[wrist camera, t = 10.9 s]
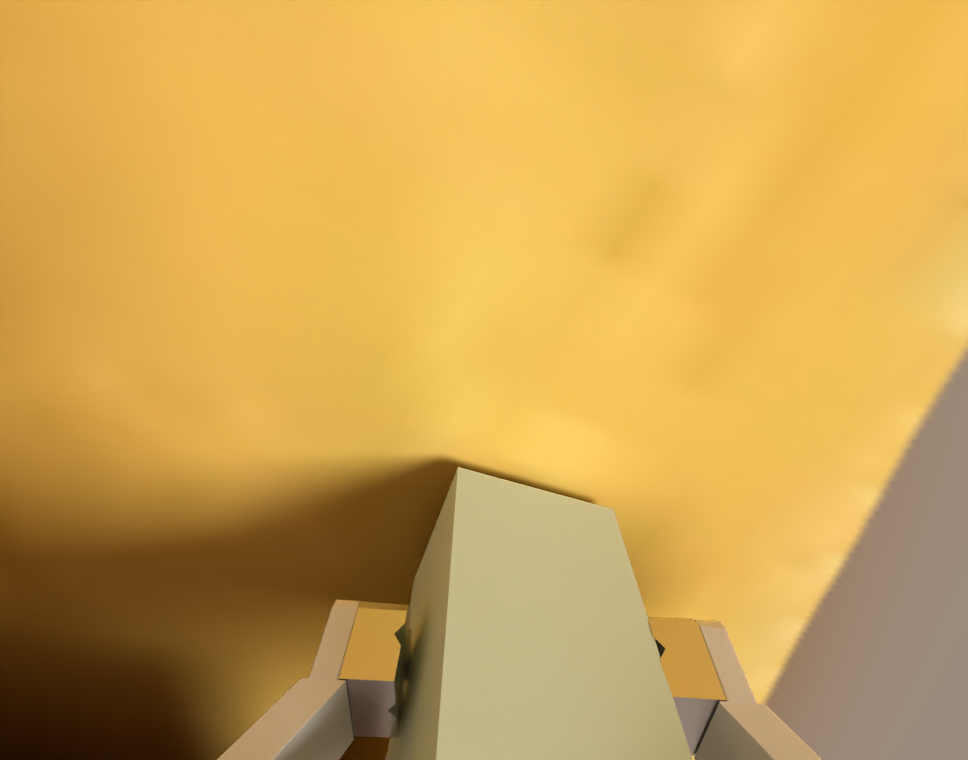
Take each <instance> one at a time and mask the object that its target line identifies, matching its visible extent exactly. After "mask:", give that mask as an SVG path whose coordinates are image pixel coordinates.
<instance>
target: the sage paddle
mask: <svg viewBox="0 0 968 760" xmlns="http://www.w3.org/2000/svg"><path fill="white" fill-rule="evenodd" d="M410 607H411V619H410V625H409V628H410V629H411V630H412V647H411V658H410V665H409V672H408V678H407V680H406V681H405V683H404V684H403V691H404V704H403V711H402V717H401V723H400V729H399V735H398V738H395V737H390V741H389V747H388V752H387V754H386V756H385V759H384V760H693V759H692V756H691V753H690V749H689V746H688V743H687V740H686V737H685V734H684V730H683V727H682V724H681V721H680V718H679V715H678V711H677V708H676V705H675V702H674V699H673V696H672V692H671V690H670V687H669V685H668V682H667V679H666V677H665V674H664V672H663V669H662V666H661V662H660V659H661V658H660V654H659V651H658V648H657V645H656V642H655V639H654V638H653V635H652V631H651V627H650V624H649V620H648V616H647V613H646V610H645V607H644V604H643V601H642V597H641V594H640V591H639V588H638V585H637V582H636V579H635V575H634V572H633V569H632V566H631V563H630V560H629V556H628V553H627V550H626V547H625V544H624V541H623V537H622V534H621V531H620V528H619V525H618V522H617V518H616V515H615V512H614V509H611V508H607V507H603V506H600V505H596V504H592V503H589V502H585V501H581V500H578V499H574V498H570V497H567V496H563V495H559V494H556V493H552V492H548V491H545V490H541V489H537V488H534V487H530V486H526V485H523V484H519V483H515V482H512V481H508V480H504V479H501V478H497V477H493V476H490V475H486V474H482V473H479V472H475V471H471V470H468V469H464V468H460V467H458V468H457V471H456V473H455V476H454V478H453V481H452V484H451V486H450V489H449V491H448V494H447V496H446V499H445V502H444V504H443V507H442V509H441V512H440V514H439V517H438V520H437V522H436V525H435V527H434V530H433V532H432V535H431V538H430V540H429V543H428V545H427V548H426V550H425V553H424V556H423V558H422V561H421V563H420V566H419V568H418V571H417V574H416V576H415V579H414V581H413V588H412V594H411V601H410Z"/></svg>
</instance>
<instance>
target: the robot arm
mask: <svg viewBox="0 0 968 760" xmlns="http://www.w3.org/2000/svg"><path fill="white" fill-rule="evenodd" d="M410 619H411V607H410V605H404V604H391V603H378V602H365V601H352V600H336V601H335V603H334V605H333V606H332V608H331V611H330V614H329V617H328V620H327V624H326V627H325V630H324V633H323V636H322V639H321V642H320V645H319V648H318V651H317V654H316V657H315V660H314V663H313V666H312V669H311V672H310V675H309V678H300V679H299V680H298V681H297V682H296V683H295V684H294V685H293V686H292V687H291V688H290V689H289V690H288V691H287V692H286V693H285V694H284V695H283V696H282V697H281V698H280V699H279V700H278V701H277V702H276V703H275V704H274V705H273V706H272V707H271V708H269V709H268V710H267V711H266V712H265V713H264V714H263V715H262V716H261V717H260V718H259V719H258V720H257V721H256V722H255V723H254V724H253V725H252V726H251V727H250V728H249V729H248V730H247V731H246V732H245V733H244V734H243V735H242V736H241V737H240V738H239V739H238V740H237V741H236V742H235V743H234V744H232V745H231V746H230V747H229V748H228V749H227V750H226V751H225V752H224V753H223V754H222V755H221V756H220V757H219V758H218V759H217V760H339V759H340V758H341V756H342V755H343V754H344V752H345V751H346V750H347V748H348V747H349V746H350V744H351V743H352V742H353V740H354V736H357V737H395V738H398V735H399V729H400V723H401V717H402V711H403V704H404V691H403V684H404V683H405V681H406V680H407V678H408V672H409V665H410V658H411V647H412V630H411V629H410V628H409V625H410ZM648 620H649V624H650V627H651V631H652V635H653V638H654V639H655V642H656V645H657V648H658V651H659V654H660V658H661V659H660V662H661V666H662V669H663V672H664V674H665V677H666V679H667V682H668V685H669V687H670V690H671V692H672V696H673V699H674V702H675V705H676V708H677V711H678V715H679V718H680V721H681V724H682V727H683V730H684V734H685V737H686V740H687V743H688V746H689V749H690V753H691V755H692V756H695V757H694V759H695V760H822V759H821V758H820V757H819V756H818V755H817V754H816V753H815V752H814V751H813V750H811V749H810V747H808V746H807V745H806V744H805V743H804V742H803V741H802V740H801V739H800V738H799V737H798V736H797V735H796V734H795V733H794V732H793V731H792V730H791V729H790V728H789V727H788V726H787V725H786V724H784V722H783V721H782V720H781V719H780V718H779V717H777V716H776V715H775V714H774V713H773V712H772V711H771V710H770V709H769V708H768V707H767V706H766V705H765V704H760V703H756V700H755V698H754V695H753V693H752V691H751V688H750V686H749V683H748V681H747V679H746V676H745V674H744V671H743V669H742V667H741V664H740V662H739V660H738V657H737V655H736V652H735V650H734V648H733V645H732V643H731V640H730V638H729V636H728V633H727V631H726V628H725V626H724V625H723V624H722V623H721V622H720V621H715V620H693V619H686V618H660V617H648Z"/></svg>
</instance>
